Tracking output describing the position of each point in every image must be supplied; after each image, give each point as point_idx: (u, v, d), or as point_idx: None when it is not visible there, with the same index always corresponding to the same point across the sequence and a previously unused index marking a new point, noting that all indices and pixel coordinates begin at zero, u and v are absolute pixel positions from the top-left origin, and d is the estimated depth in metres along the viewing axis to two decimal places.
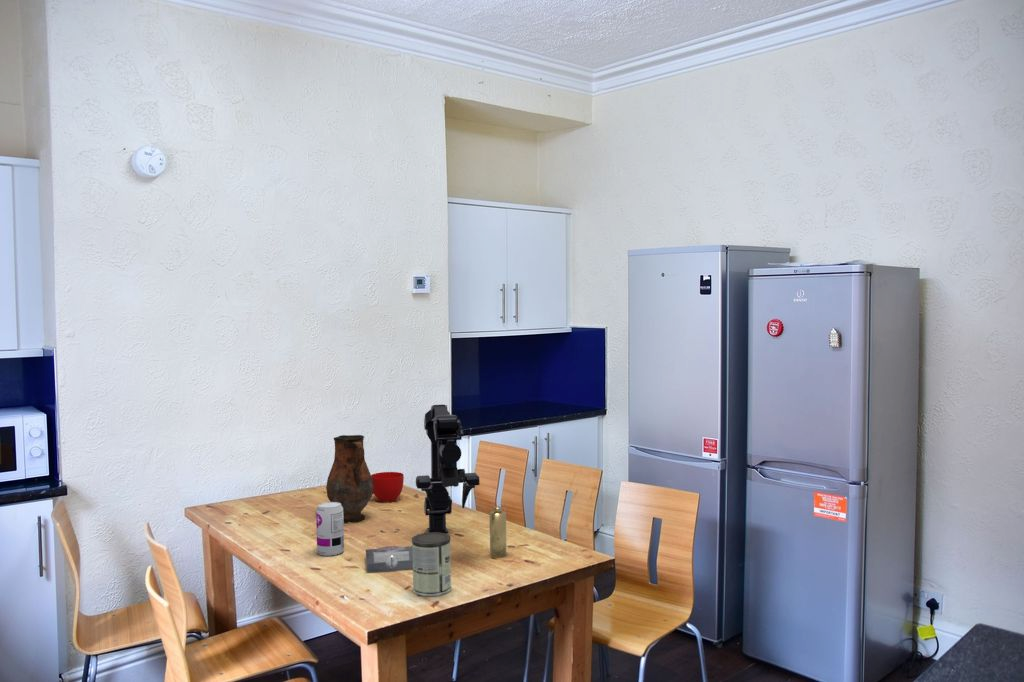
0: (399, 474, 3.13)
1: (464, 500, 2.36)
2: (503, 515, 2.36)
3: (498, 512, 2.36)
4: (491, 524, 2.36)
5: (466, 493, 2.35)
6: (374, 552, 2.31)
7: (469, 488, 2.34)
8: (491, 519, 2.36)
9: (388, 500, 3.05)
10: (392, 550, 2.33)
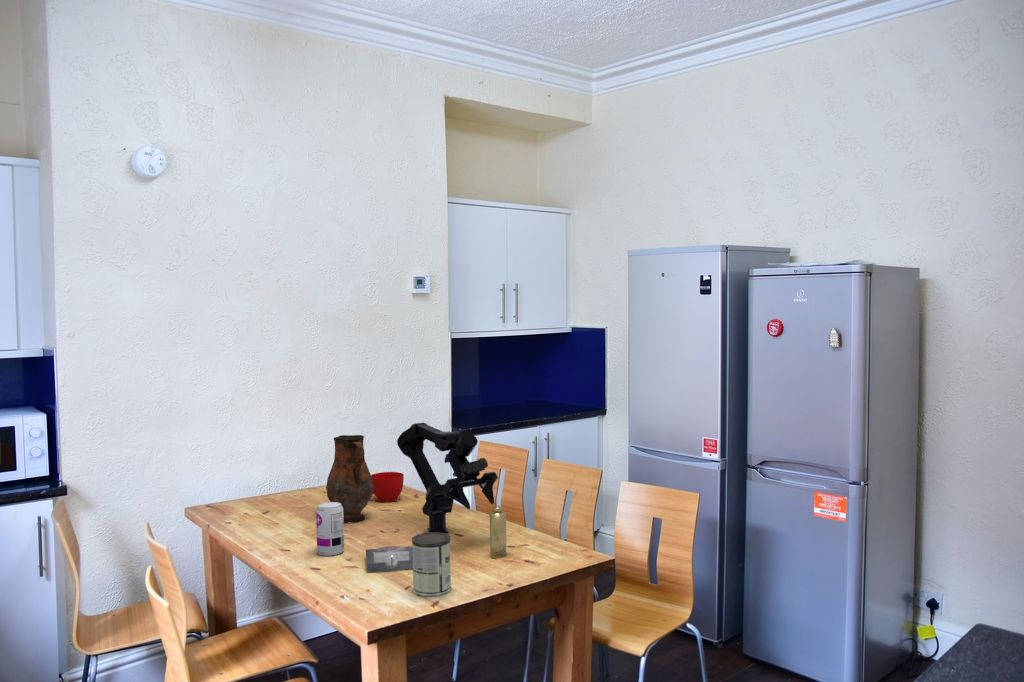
0: (399, 474, 3.13)
1: (491, 495, 2.47)
2: (503, 515, 2.36)
3: (498, 512, 2.36)
4: (491, 524, 2.36)
5: (490, 488, 2.49)
6: (374, 552, 2.31)
7: (492, 481, 2.49)
8: (491, 519, 2.36)
9: (388, 500, 3.05)
10: (392, 550, 2.33)
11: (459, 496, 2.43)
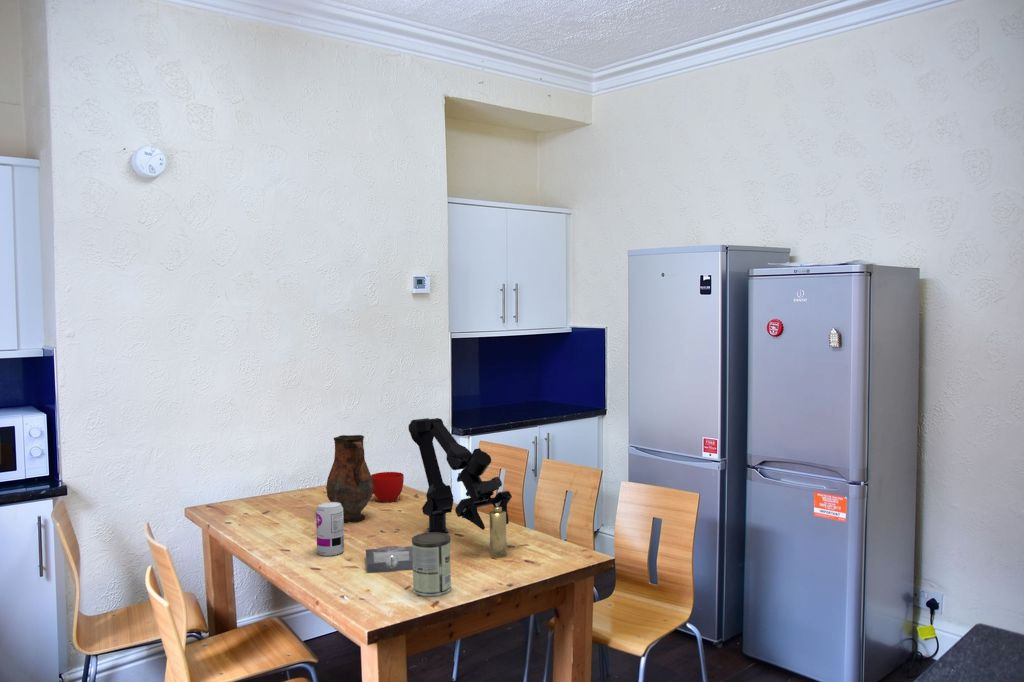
0: (399, 474, 3.13)
1: (506, 514, 2.42)
2: (503, 515, 2.36)
3: (498, 512, 2.36)
4: (491, 524, 2.36)
5: (505, 508, 2.43)
6: (374, 552, 2.31)
7: (506, 500, 2.44)
8: (491, 519, 2.36)
9: (388, 500, 3.05)
10: (392, 550, 2.33)
11: (473, 516, 2.37)
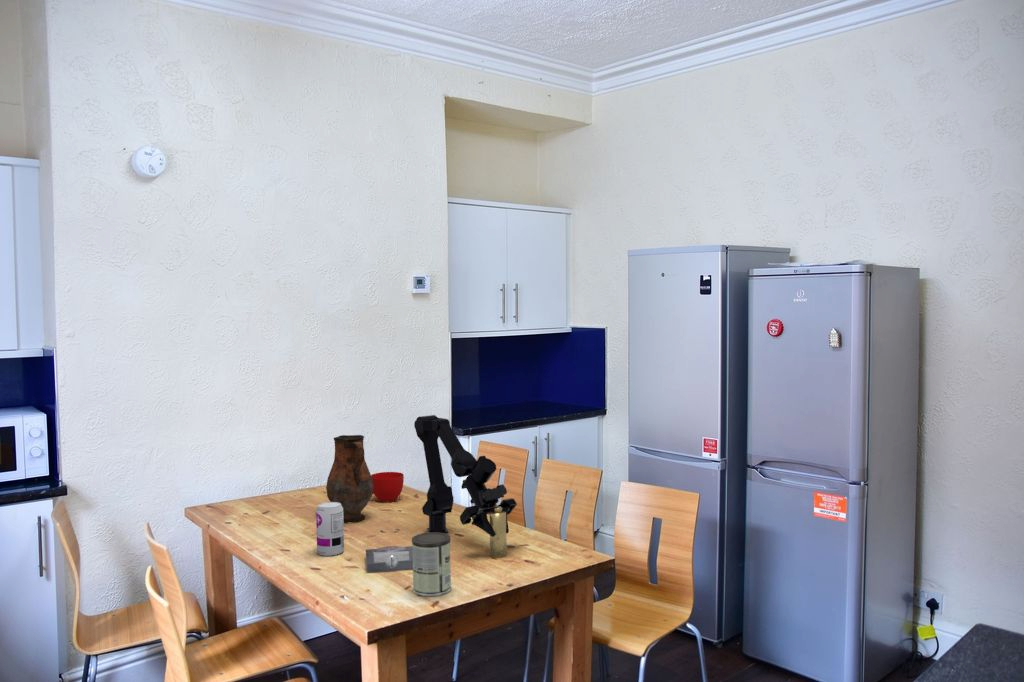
0: (399, 474, 3.13)
1: (506, 523, 2.39)
2: (503, 515, 2.36)
3: (498, 512, 2.36)
4: (491, 524, 2.36)
5: None
6: (374, 552, 2.31)
7: (506, 509, 2.41)
8: (491, 519, 2.36)
9: (388, 500, 3.05)
10: (392, 550, 2.33)
11: (483, 523, 2.37)
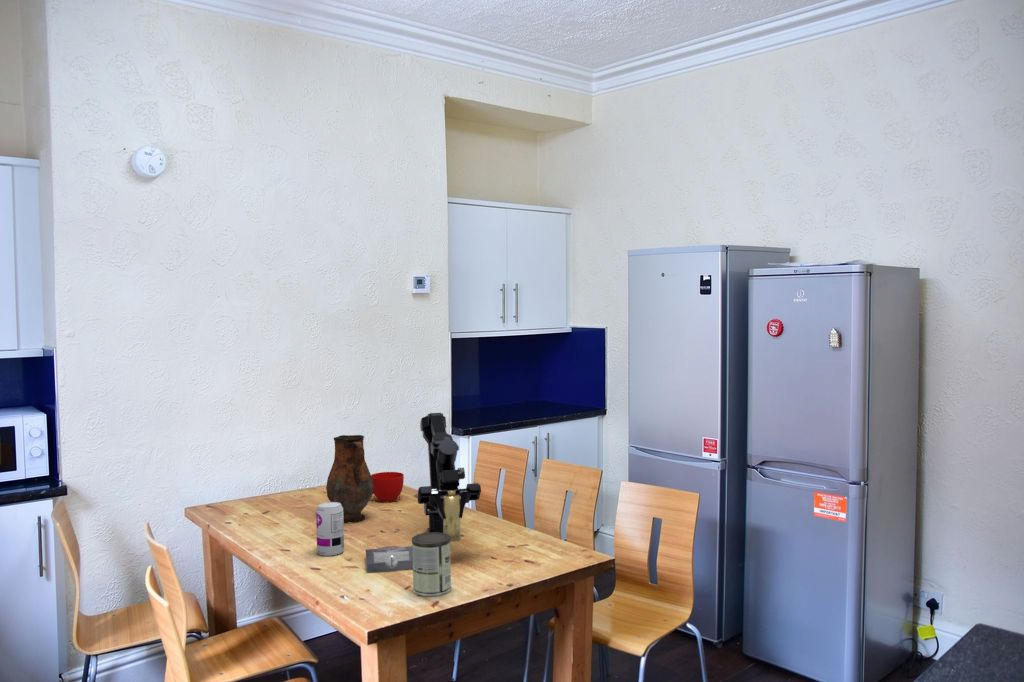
0: (399, 474, 3.13)
1: (461, 508, 2.32)
2: (453, 499, 2.29)
3: (450, 495, 2.30)
4: (443, 506, 2.31)
5: (462, 501, 2.33)
6: (374, 552, 2.31)
7: (465, 493, 2.34)
8: (443, 501, 2.31)
9: (388, 500, 3.05)
10: (392, 550, 2.33)
11: None
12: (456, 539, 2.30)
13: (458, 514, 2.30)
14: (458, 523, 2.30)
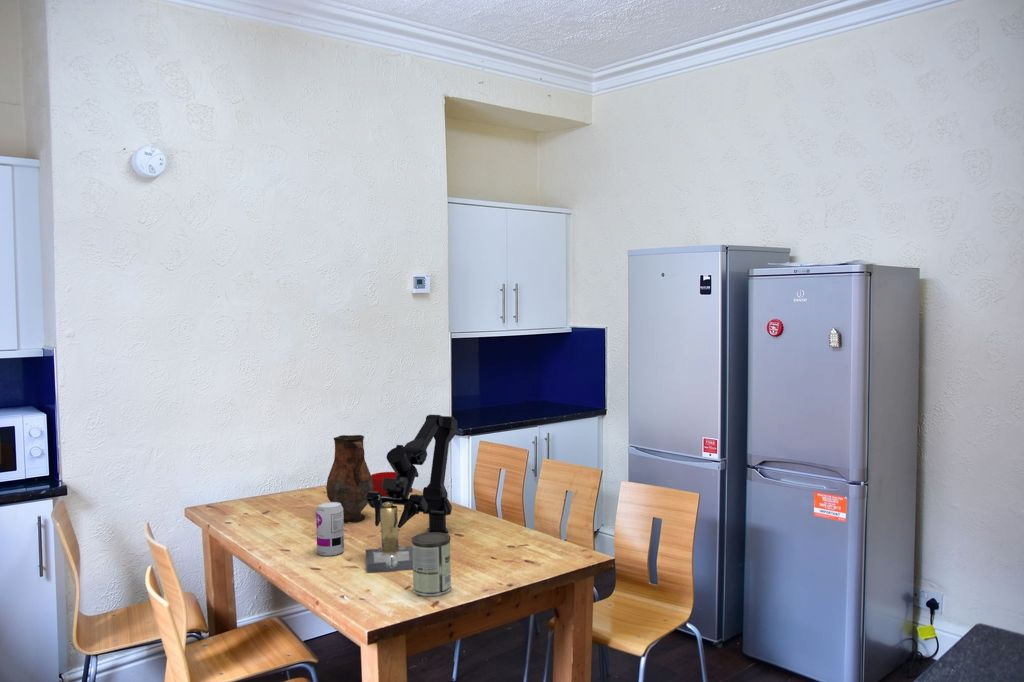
0: None
1: (401, 518, 2.30)
2: (385, 511, 2.29)
3: (385, 507, 2.31)
4: None
5: (404, 511, 2.31)
6: (374, 552, 2.31)
7: (407, 504, 2.31)
8: None
9: None
10: None
11: None
12: (389, 551, 2.29)
13: (391, 527, 2.29)
14: (391, 536, 2.30)
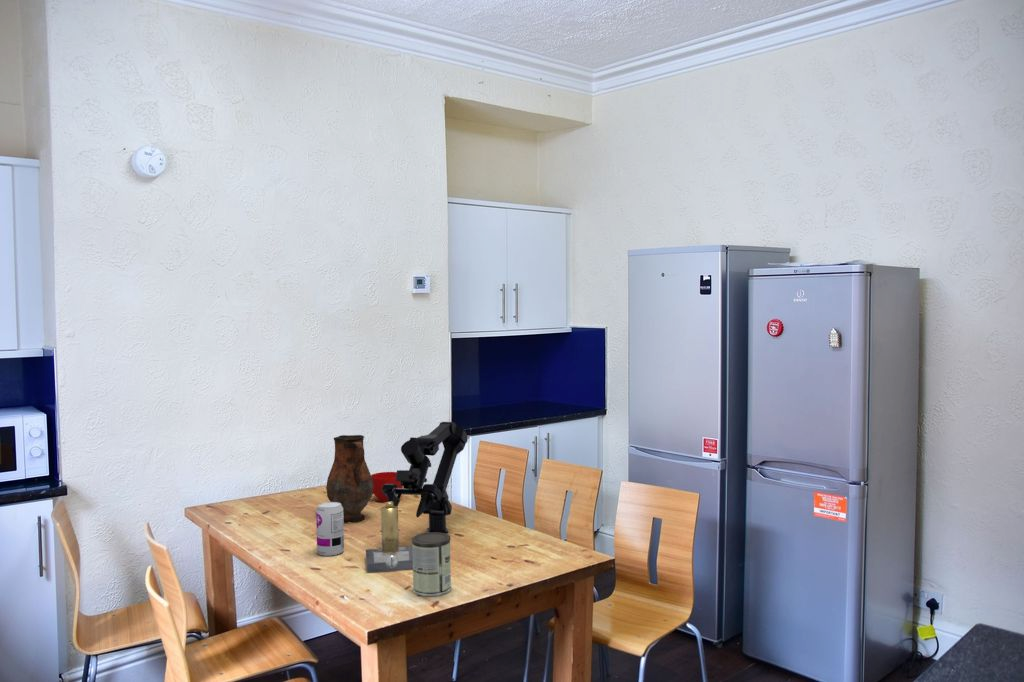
0: None
1: (418, 508, 2.38)
2: (386, 511, 2.29)
3: (386, 507, 2.31)
4: None
5: (421, 501, 2.39)
6: (374, 552, 2.31)
7: (423, 494, 2.39)
8: None
9: (388, 500, 3.05)
10: None
11: None
12: (389, 552, 2.30)
13: (392, 527, 2.29)
14: (392, 536, 2.30)
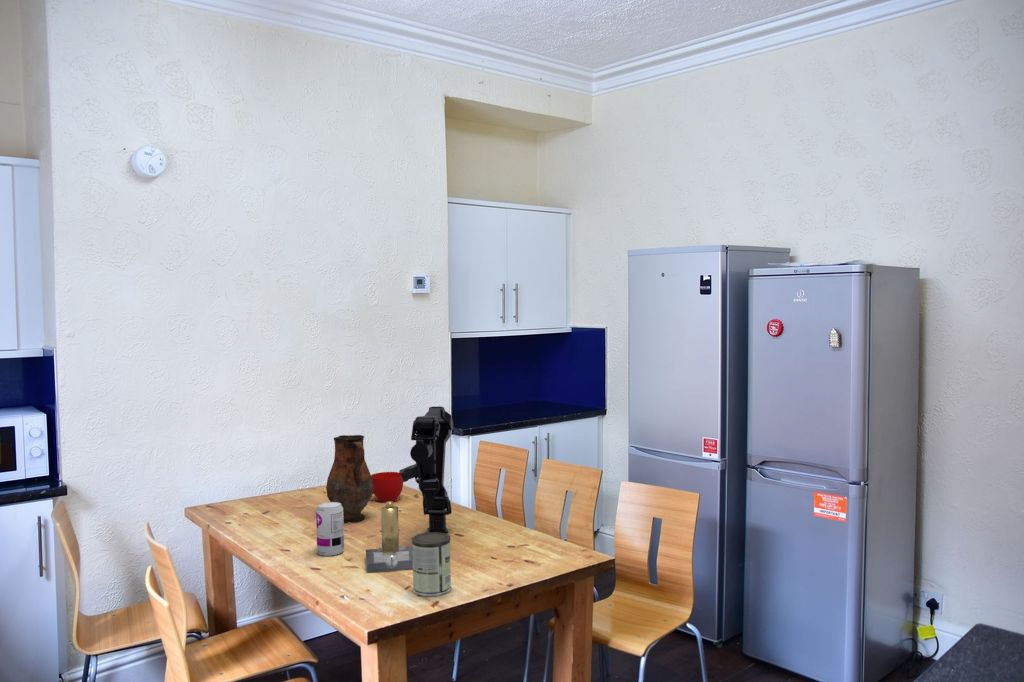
0: (399, 474, 3.13)
1: (425, 501, 2.42)
2: (386, 511, 2.29)
3: (386, 507, 2.31)
4: None
5: (424, 495, 2.41)
6: (374, 552, 2.31)
7: None
8: None
9: (388, 500, 3.05)
10: None
11: None
12: (389, 552, 2.30)
13: (392, 527, 2.29)
14: (392, 536, 2.30)
